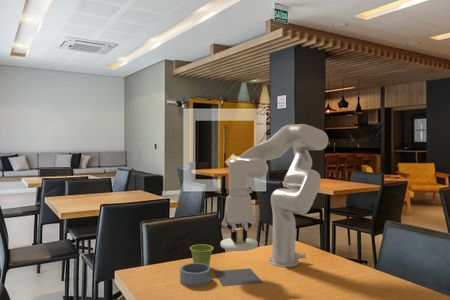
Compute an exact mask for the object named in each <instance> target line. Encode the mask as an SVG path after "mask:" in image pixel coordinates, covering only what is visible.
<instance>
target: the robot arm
mask: <svg viewBox="0 0 450 300" xmlns="http://www.w3.org/2000/svg"><path fill="white" fill-rule="evenodd" d="M328 145H329V137H328V135H327V133H326V132H325V131H324V130H322V129H319V128H317V127H315V126H312V125H309V124H305V123H299V124H286V125H284V126H282V127H281V128H280V129H279V130H278V131H276V133H274V134H273V135H272V136H271V137H269V139H267V140H266V141H263V142H261V143H259V144H257V145H254V146H253V147H251V148H249V149H247V150H244V152H243V153H242V154H240V155H239V157H237V158H236V159H231V160H229V161H228V195H227V196H226V198H225V205H224V217H223V220H222V221H221V225H222V226H224V227H225V228H227V229H229V230H230V238H231V240H232V241H233V242H234V243H236V232H235V229H236V224H242V229H243V241H244V242H246V239H247V238H248V232H249V229H250V228H251V227H252V226H254V225H255V224H256V223H257V221H256V218H255V217H254V210H253V203H252V198H251V197H252V196H251V195H250V194H251V193H253V189H252V188H250V185H249V184H250V181H249V179H250V178H251V179H261V178H264V177H265V176H266V175H267V174H268V172H269V166H268V163H267V162H266V161H271V160H275V159H279V158H281V156H283V155H284V154H285V153H286V152H287V151H288V150H289V149H290V148H292V149H293V150H292V151H293V155H294V156H293V159H292V161H291V164H290V166H289V168H288V170H287V172H286V173H285V176H284V178H283V184H284V186H285V187H286V188H276V189H275V190H273V191H272V193H271V195H270V205H271V211H272V251H271V252H272V256H270V257H269V258H268V262H269V264H271V265H273V266H276V267H280V268H281V267H283V268H294V267H297V266H298V265H299V259H306V258H307V254H306V253H301V252H296V225H297V224H296V218H295V216H294V214H295V215H305V214H307V213H308V212H309V211H310V209H311V208H312V206H313V204H314V203H315V202H314V201H315V200H316V197H317V194H318V192H320V191H319V190H320V187H321V184H322V180H321V174H320V173H319V172H318V171H316V170H314V169H312V166H313V159H312V157H311V154H310V152H309V151H323V150H324V149H326V148H327V146H328Z"/></svg>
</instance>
